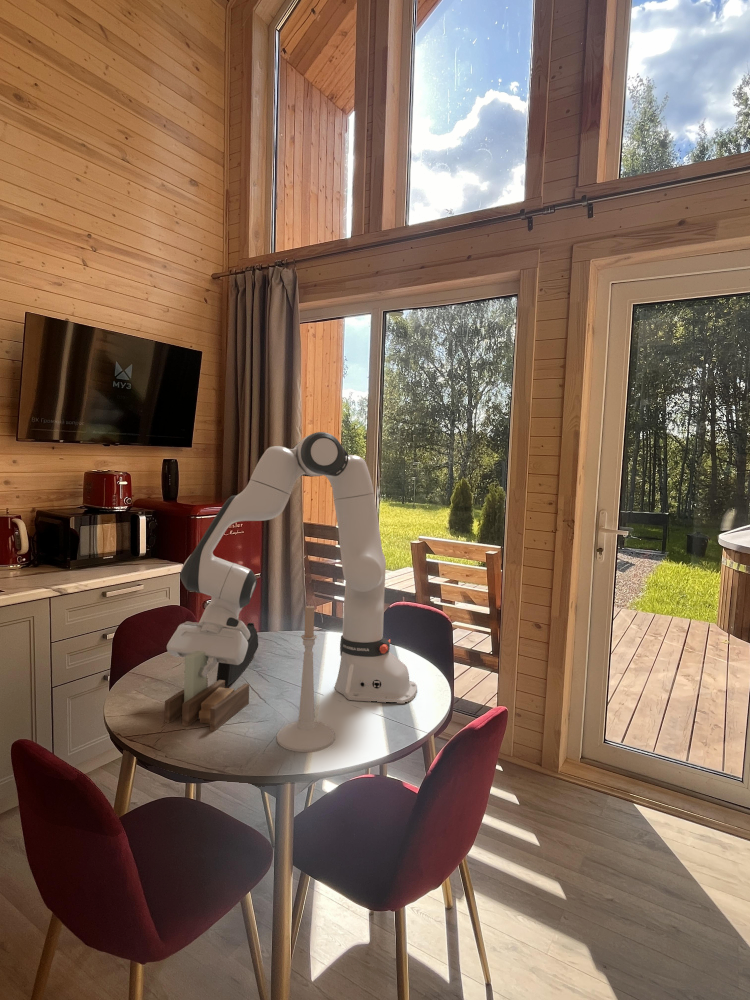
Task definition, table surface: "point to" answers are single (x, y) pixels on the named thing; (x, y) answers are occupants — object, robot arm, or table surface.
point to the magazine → (234, 671)
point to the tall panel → (194, 674)
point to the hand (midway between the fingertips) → (194, 675)
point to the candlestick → (306, 704)
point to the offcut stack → (212, 703)
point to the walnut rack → (217, 712)
